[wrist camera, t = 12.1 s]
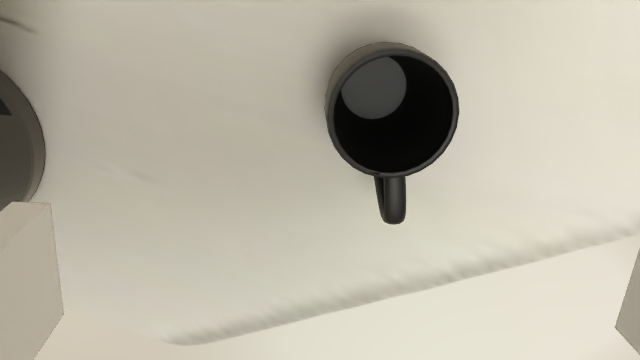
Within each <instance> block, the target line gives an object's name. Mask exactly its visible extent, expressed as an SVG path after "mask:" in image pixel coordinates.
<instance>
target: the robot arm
mask: <svg viewBox="0 0 640 360" xmlns="http://www.w3.org/2000/svg"><path fill="white" fill-rule="evenodd" d="M44 162H45V148H44V141H43V135H42V132H41V128H40V125H39V122H38V120H37V117H36V115H35V113H34V111H33V109H32V107H31V106H30V104H29V102H28V101H27V99H26V98H25V96H24V95H23V94H22V92H21V91H20V90H19V89H18V87H17V86H16V85H15V84H14V83H13V82H12V81H11V80H10V79H9V78H8V77H7V76H6V75H5V74H4V73H2V72H1V71H0V360H34V358H35V357H36V355H37V354H38V352H39V351H40V349H41V348H42V346H43V345H44V343H45V342H46V340H47V339H48V337H49V336H50V334H51V333H52V331H53V330H54V328H55V327H56V325H57V324H58V322H59V321H60V319H61V318H62V316H63V315H64V311H63V303H62V295H61V287H60V279H59V271H58V262H57V254H56V246H55V238H54V230H53V222H52V214H51V206H50V203H32V202H28V201H29V200H30V199H31V197H32V196H33V194H34V193H35V191H36V189H37V187H38V185H39V183H40V180H41V177H42V174H43V169H44ZM615 328H616V330H617V331H618V332H619V333H620V334H621V335H622V336H623V337H624V338H625V339H626V340H627V342H628V343H629V344H630V345H631V346H632V347H633V348H634V349H635V350H636V351H637V352H638V354H639V355H640V249H639V252H638V255H637V258H636V262H635V265H634V268H633V271H632V274H631V277H630V281H629V284H628V287H627V290H626V294H625V297H624V300H623V303H622V306H621V309H620V312H619V316H618V319H617V322H616V325H615Z"/></svg>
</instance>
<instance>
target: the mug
mask: <svg viewBox="0 0 640 360" xmlns="http://www.w3.org/2000/svg"><path fill="white" fill-rule="evenodd" d="M325 114H326V121H327V127H328V132H329V135H330V138H331V140H332V143H333V145H334V147H335V149H336V150H337V151H338V153H339V154H340V156H341V157H342V158H343V159H344V160H345V161H346V162H347V163H349V164H350V165H351V166H352V167H353V168H355V169H357V170H359V171H361V172H363V173H365V174H368V175H372V176H374V180H375V186H376V193H377V199H378V204H379V209H380V214H381V217H382V219H383V221H384V222H386V223H388V224H400V223H401V222H403V221H404V218H405V215H406V180H405V176H408V175H411V174H414V173H416V172H419V171H421V170H423V169H424V168H426V167H427V166H429V165H431V164H432V163H433V162H434V161H435V160H436V159H437V158H438V157H440V156H441V155H442V154H443V152H444V151H445V149H446V148H447V147H448V145H449V144H450V142H451V140H452V138H453V135H454V133H455V130H456V128H457V123H458V117H459V102H458V96H457V92H456V89H455V86H454V83H453V82H452V80H451V78H450V77H449V75H448V73H447V72H446V71H445V70H444V69H443V68H442V67H441V66H440V65H439V64H438V63H437V62H436V61H435V60H433V59H432V58H430V57H429V56H427V55H425V54H424V53H422V52H420V51H419V50H417V49H415V48H413V47H410V46H407V45H404V44H401V43H390V42H381V43H375V44H369V45H367V46H364V47H362V48H360V49H357V50H356V51H354V52H353V53H351V54H350V55H349V56H347V57H346V58H345V59H344V60H343V61H342V62H341V63H340V65H339V66H338V67H337V68H336V70H335V72H334V73H333V75H332V77H331V79H330V82H329V85H328V88H327V91H326V96H325Z"/></svg>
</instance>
